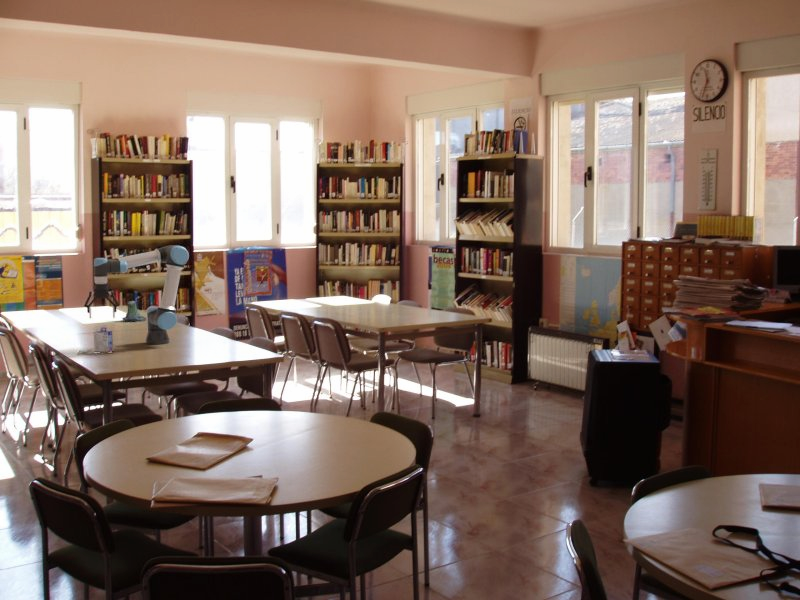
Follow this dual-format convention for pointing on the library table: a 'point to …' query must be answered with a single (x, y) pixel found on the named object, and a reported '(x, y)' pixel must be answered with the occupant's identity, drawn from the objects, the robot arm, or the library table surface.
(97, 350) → the ink cartridge box
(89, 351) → the board
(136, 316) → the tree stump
